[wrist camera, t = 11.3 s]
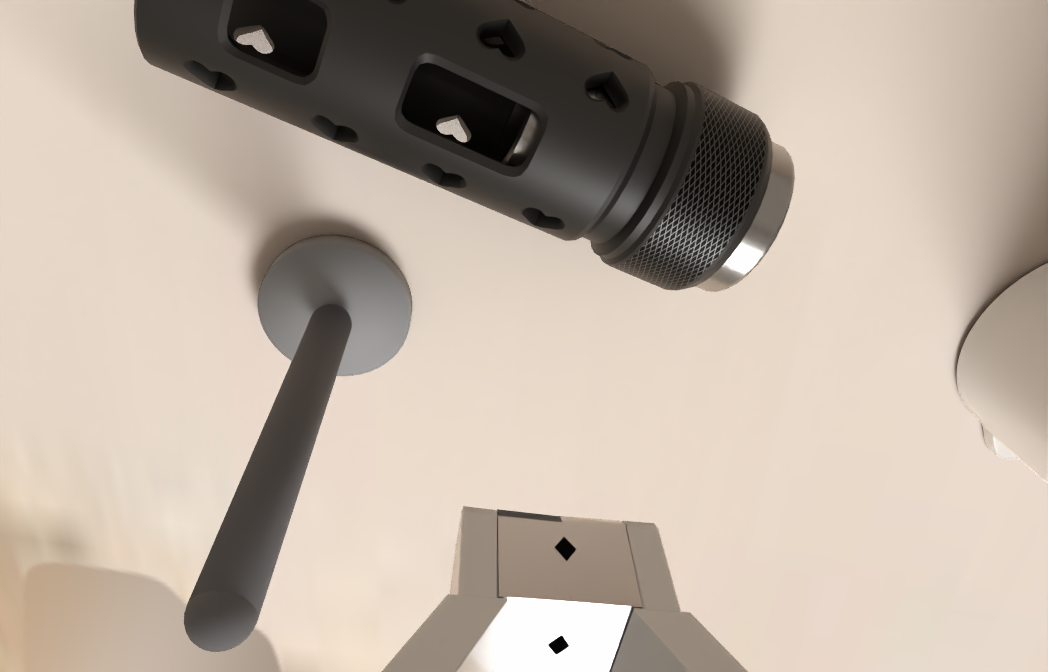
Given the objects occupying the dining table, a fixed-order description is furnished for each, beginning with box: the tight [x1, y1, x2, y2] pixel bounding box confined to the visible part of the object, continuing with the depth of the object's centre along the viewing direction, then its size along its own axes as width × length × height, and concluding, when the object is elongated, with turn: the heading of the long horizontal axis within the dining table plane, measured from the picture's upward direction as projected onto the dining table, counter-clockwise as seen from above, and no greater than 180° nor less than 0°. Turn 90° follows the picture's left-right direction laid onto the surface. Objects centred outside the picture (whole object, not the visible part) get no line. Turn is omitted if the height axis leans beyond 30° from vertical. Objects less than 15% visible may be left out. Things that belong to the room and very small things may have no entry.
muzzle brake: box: [134, 0, 795, 292], centre depth 33 cm, size 10×28×10 cm, turn 65°
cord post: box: [184, 235, 412, 652], centre depth 34 cm, size 9×9×24 cm
